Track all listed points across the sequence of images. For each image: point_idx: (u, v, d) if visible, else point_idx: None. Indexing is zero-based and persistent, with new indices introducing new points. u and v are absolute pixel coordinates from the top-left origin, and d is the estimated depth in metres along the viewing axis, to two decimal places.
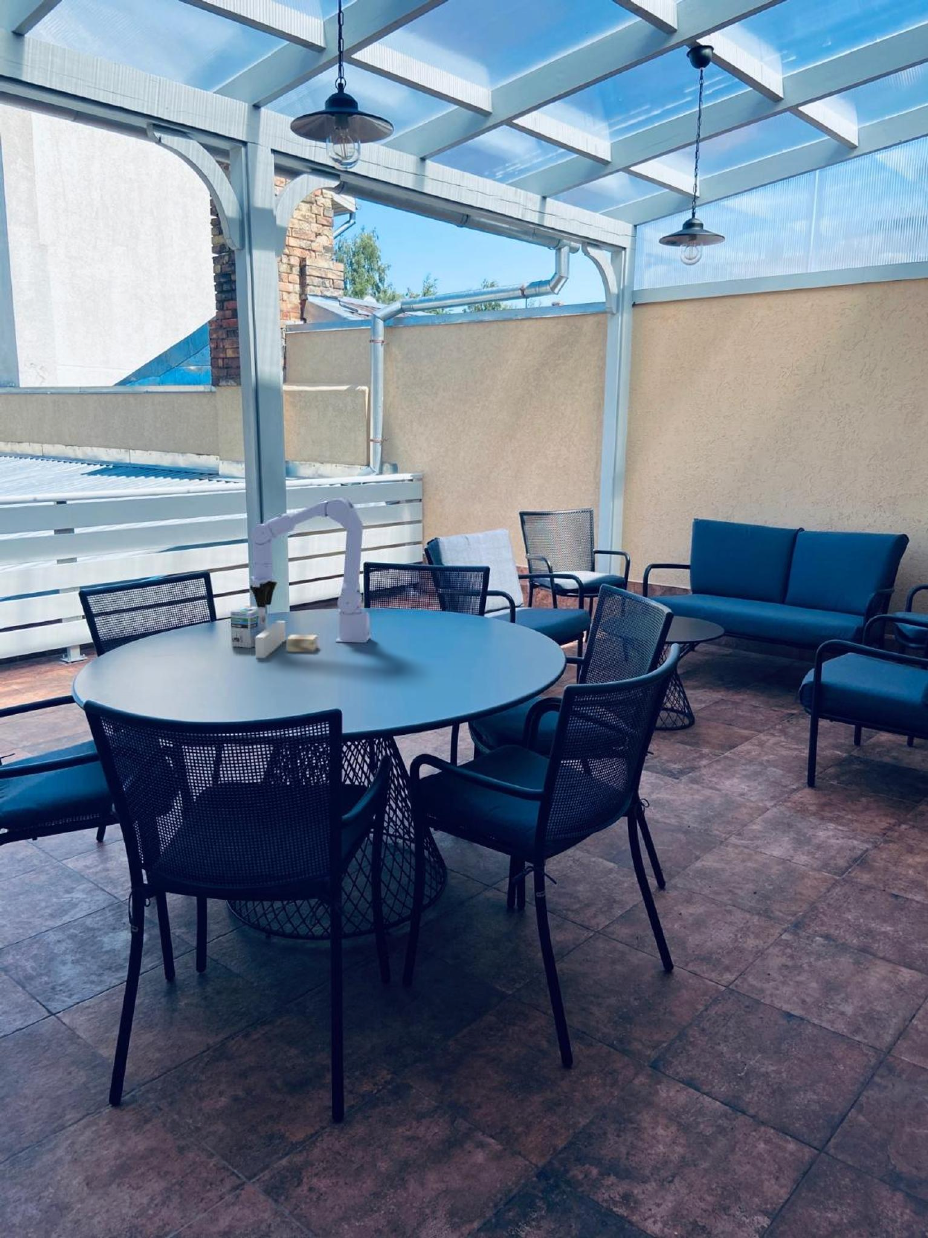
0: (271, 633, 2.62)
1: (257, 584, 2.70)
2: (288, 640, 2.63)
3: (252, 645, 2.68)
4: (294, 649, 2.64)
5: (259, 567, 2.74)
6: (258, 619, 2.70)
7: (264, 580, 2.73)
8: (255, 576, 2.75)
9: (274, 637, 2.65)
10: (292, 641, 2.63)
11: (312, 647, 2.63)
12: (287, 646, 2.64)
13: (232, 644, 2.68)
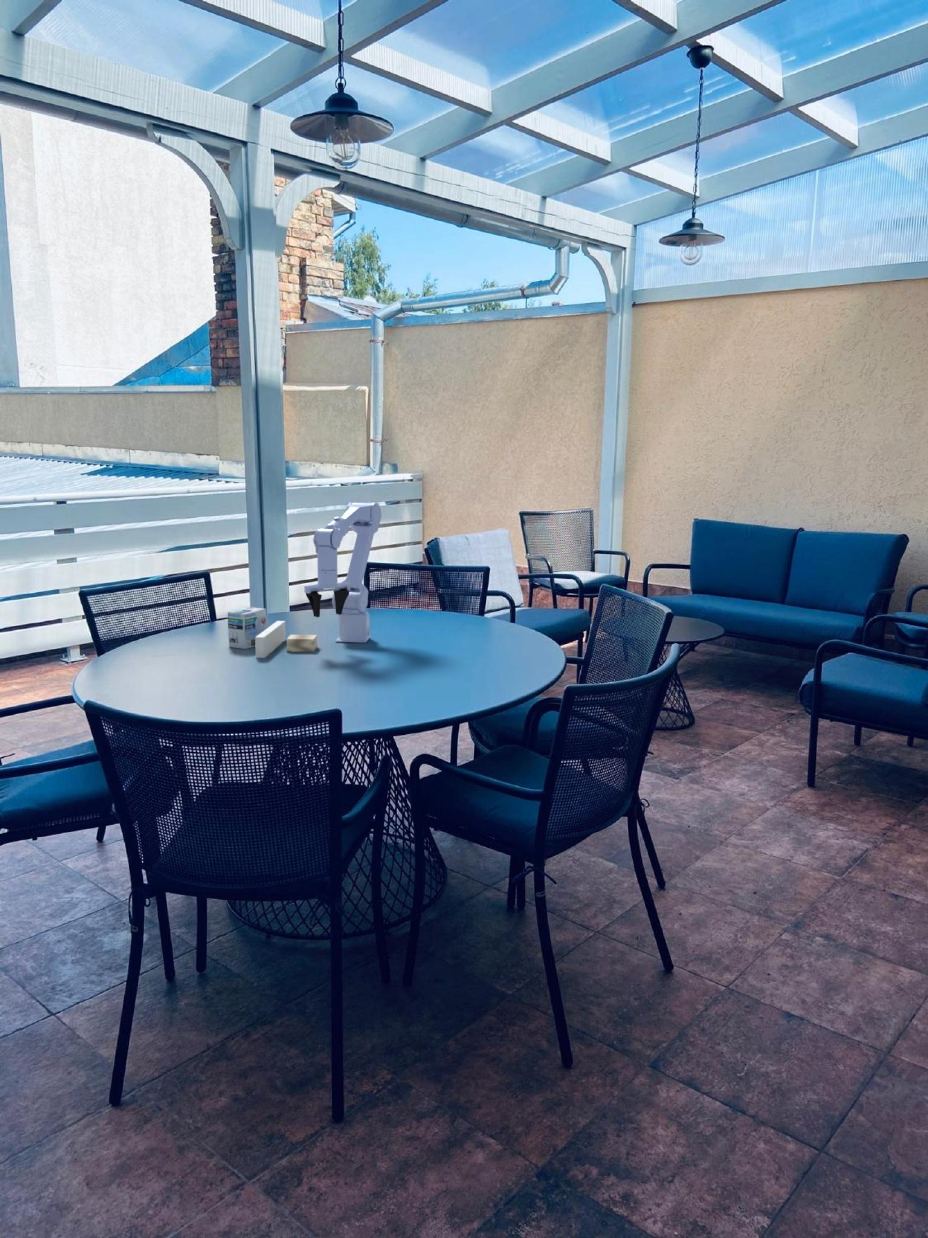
0: (271, 633, 2.62)
1: (307, 590, 2.58)
2: (288, 640, 2.63)
3: (248, 646, 2.67)
4: (294, 649, 2.64)
5: (319, 573, 2.60)
6: (255, 621, 2.69)
7: (318, 587, 2.59)
8: None
9: (274, 637, 2.65)
10: (292, 641, 2.63)
11: (313, 647, 2.64)
12: (287, 646, 2.63)
13: (229, 645, 2.68)
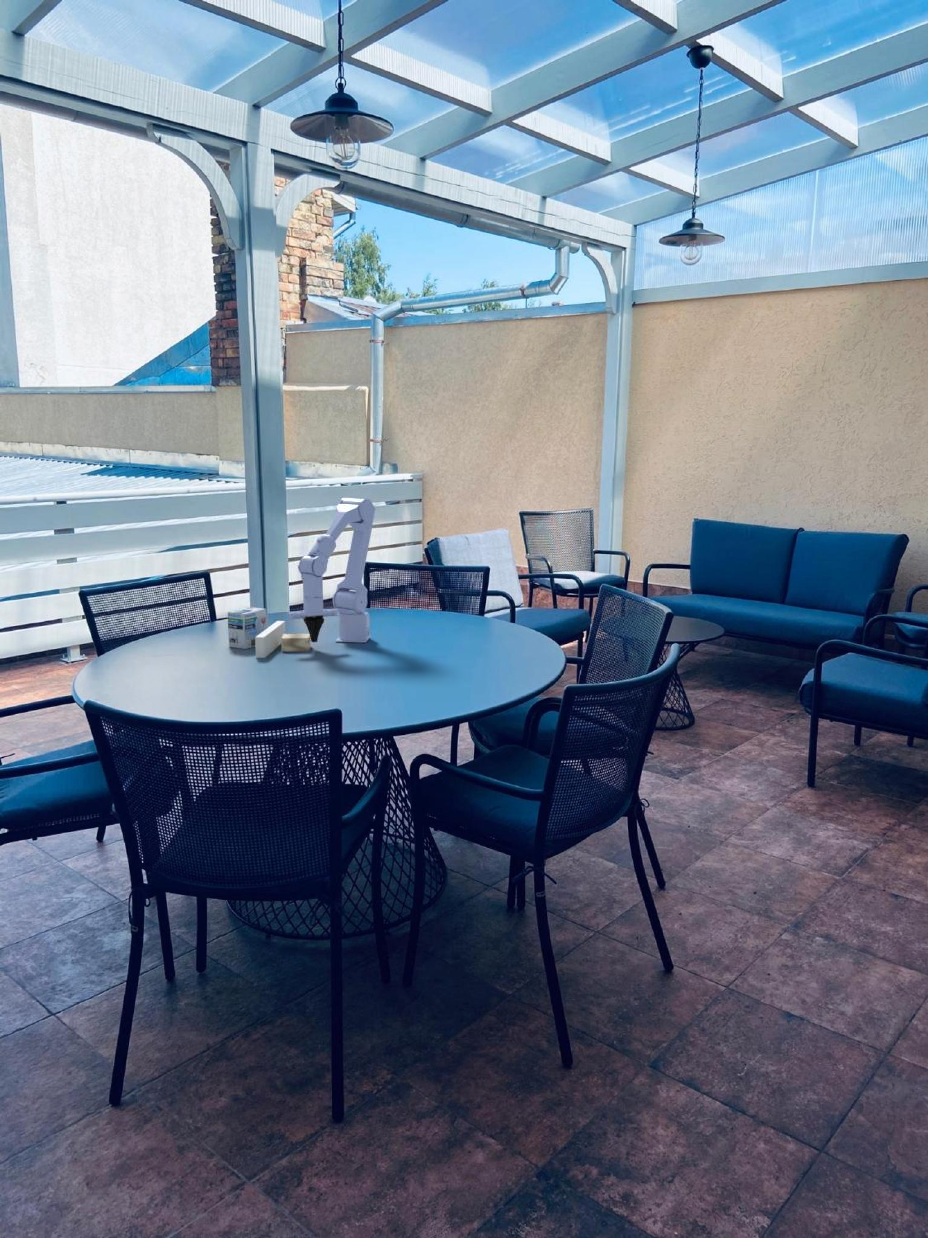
0: (271, 633, 2.62)
1: (290, 617, 2.61)
2: (283, 639, 2.63)
3: (248, 646, 2.67)
4: (289, 648, 2.64)
5: (303, 600, 2.62)
6: (255, 621, 2.69)
7: (301, 614, 2.61)
8: None
9: (274, 637, 2.65)
10: (287, 640, 2.63)
11: (307, 646, 2.64)
12: (282, 645, 2.63)
13: (229, 645, 2.68)
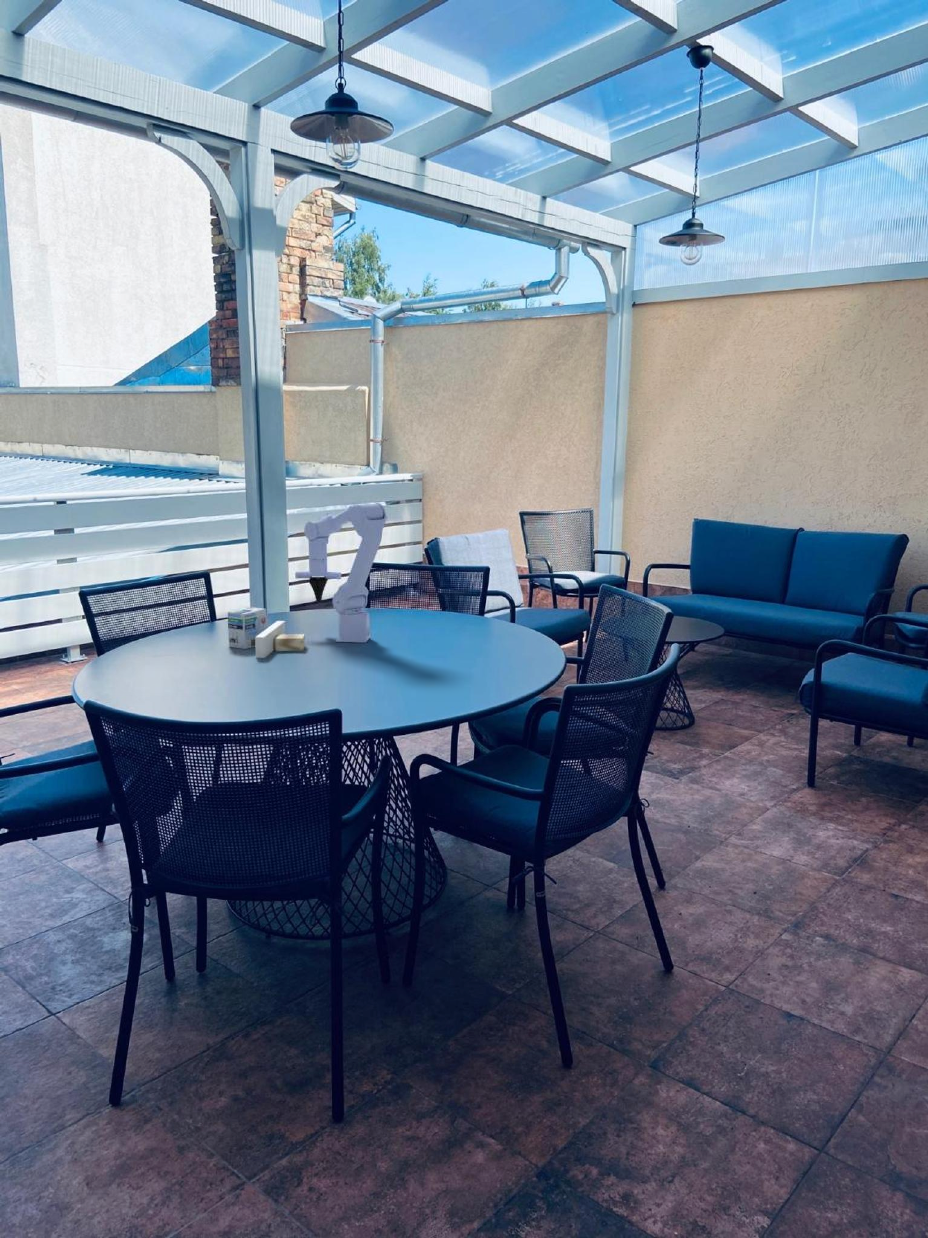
0: (271, 633, 2.62)
1: None
2: (277, 640, 2.63)
3: (248, 646, 2.67)
4: (283, 649, 2.64)
5: None
6: (255, 621, 2.69)
7: (304, 574, 2.85)
8: None
9: (274, 637, 2.65)
10: (281, 640, 2.64)
11: (302, 646, 2.64)
12: (276, 646, 2.64)
13: (229, 645, 2.68)
